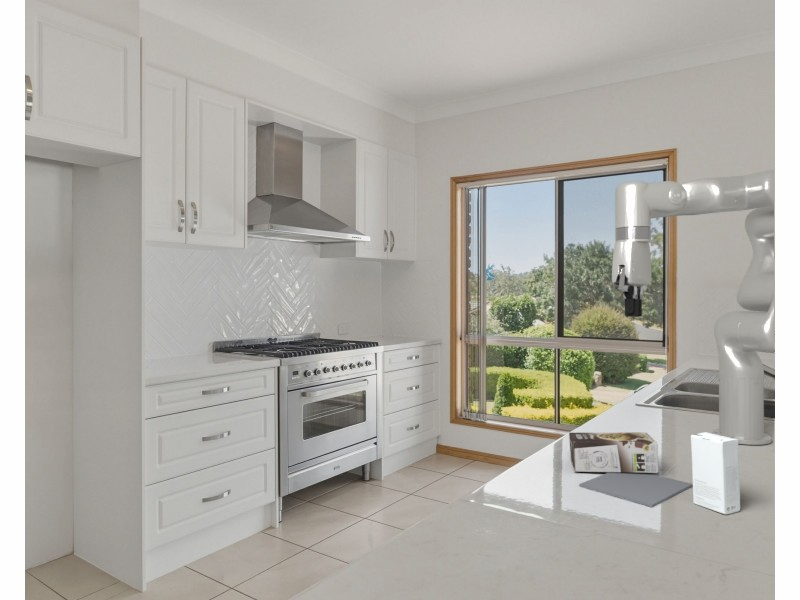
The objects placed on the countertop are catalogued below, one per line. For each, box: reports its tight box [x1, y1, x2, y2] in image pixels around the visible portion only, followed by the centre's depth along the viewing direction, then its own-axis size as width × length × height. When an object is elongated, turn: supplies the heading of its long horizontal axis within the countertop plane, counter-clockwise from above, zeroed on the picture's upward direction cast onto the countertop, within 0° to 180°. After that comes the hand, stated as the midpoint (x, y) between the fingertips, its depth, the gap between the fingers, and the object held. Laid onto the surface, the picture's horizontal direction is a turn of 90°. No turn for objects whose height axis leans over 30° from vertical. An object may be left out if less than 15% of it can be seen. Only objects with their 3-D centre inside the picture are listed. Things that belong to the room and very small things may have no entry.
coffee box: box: [568, 431, 660, 474], centre depth 117 cm, size 9×6×16 cm
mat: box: [578, 472, 693, 508], centre depth 106 cm, size 16×14×1 cm
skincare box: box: [690, 431, 741, 515], centre depth 96 cm, size 6×4×12 cm
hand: (633, 316), depth 129 cm, fingers closed
